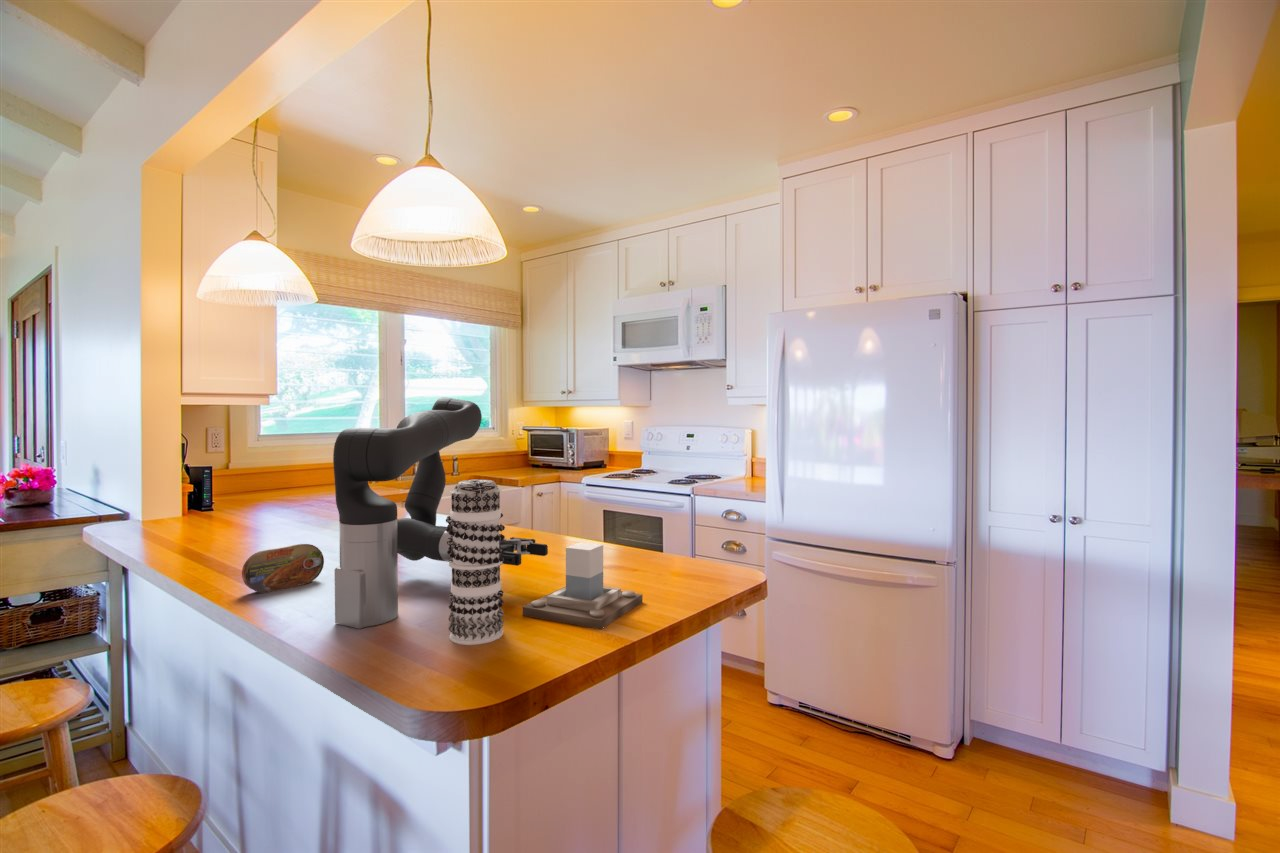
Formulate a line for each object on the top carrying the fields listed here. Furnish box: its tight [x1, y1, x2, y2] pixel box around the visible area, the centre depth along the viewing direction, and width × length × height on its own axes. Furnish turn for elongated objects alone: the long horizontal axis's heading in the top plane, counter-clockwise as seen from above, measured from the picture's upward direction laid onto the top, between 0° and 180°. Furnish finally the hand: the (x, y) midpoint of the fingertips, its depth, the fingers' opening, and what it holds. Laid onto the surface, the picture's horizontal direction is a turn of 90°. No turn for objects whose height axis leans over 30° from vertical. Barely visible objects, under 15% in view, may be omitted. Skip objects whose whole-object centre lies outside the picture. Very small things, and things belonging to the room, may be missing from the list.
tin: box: [241, 543, 325, 594], centre depth 125 cm, size 15×3×8 cm, turn 143°
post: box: [565, 541, 604, 601], centre depth 111 cm, size 5×5×10 cm
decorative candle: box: [445, 479, 506, 646], centre depth 97 cm, size 9×9×25 cm
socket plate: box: [522, 585, 643, 630], centre depth 111 cm, size 16×16×3 cm
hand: (534, 554), depth 116 cm, fingers open, 8 cm apart
